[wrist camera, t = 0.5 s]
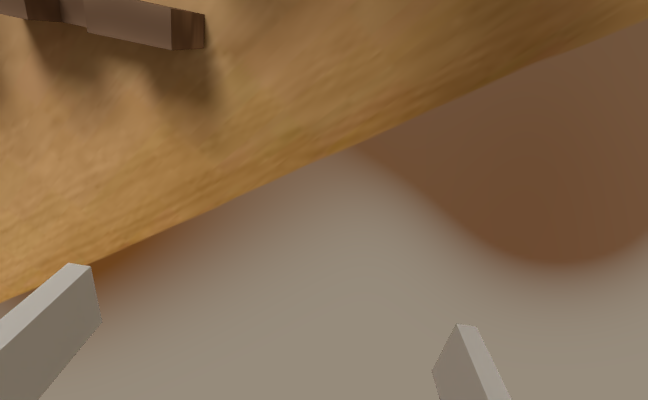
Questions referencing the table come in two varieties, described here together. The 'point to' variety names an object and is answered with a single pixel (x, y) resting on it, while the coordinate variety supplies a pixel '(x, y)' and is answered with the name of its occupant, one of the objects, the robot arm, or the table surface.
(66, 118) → the table surface
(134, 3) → the walnut notched block
